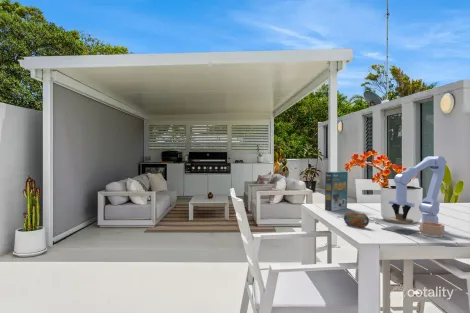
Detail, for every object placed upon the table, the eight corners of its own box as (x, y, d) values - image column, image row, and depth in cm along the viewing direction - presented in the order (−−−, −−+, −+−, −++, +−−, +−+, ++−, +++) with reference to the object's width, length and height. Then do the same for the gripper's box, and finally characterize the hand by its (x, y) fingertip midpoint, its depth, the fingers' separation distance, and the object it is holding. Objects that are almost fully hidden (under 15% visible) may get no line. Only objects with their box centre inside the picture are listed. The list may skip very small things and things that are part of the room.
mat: (395, 226, 201) (395, 225, 201) (420, 231, 189) (420, 230, 189) (381, 229, 193) (381, 228, 193) (406, 234, 180) (406, 233, 180)
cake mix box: (340, 207, 271) (341, 171, 271) (346, 208, 267) (347, 171, 266) (324, 209, 257) (325, 172, 257) (331, 210, 253) (332, 172, 252)
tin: (343, 224, 204) (343, 211, 204) (345, 223, 206) (346, 210, 206) (367, 228, 193) (367, 214, 193) (369, 228, 196) (369, 214, 196)
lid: (396, 217, 200) (396, 211, 200) (417, 221, 189) (418, 215, 189) (384, 219, 193) (384, 213, 193) (405, 223, 182) (405, 217, 182)
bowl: (426, 231, 189) (426, 221, 189) (447, 235, 180) (447, 224, 180) (416, 233, 183) (416, 223, 183) (437, 238, 174) (437, 227, 174)
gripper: (385, 193, 194) (385, 216, 195) (410, 196, 182) (409, 220, 183) (392, 192, 198) (392, 215, 199) (416, 195, 186) (416, 219, 186)
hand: (400, 217), depth 191 cm, fingers closed on lid, 4 cm apart
